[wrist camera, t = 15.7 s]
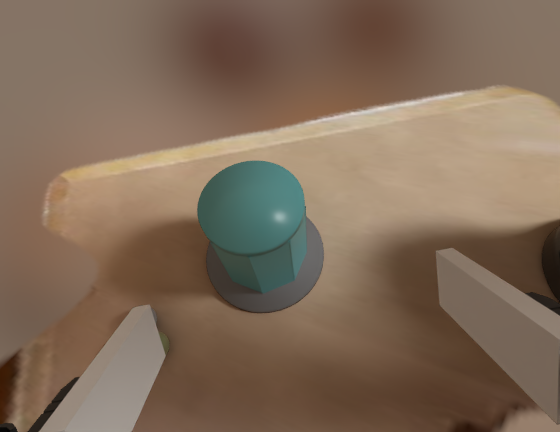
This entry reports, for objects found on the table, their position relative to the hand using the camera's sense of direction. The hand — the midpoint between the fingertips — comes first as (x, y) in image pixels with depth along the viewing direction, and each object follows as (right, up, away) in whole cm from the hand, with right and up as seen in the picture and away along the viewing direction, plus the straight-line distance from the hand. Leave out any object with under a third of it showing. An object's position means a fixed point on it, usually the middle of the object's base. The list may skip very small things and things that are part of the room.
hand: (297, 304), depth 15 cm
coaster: (-3, -1, +25) cm, 26 cm away
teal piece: (-3, 0, +25) cm, 25 cm away
